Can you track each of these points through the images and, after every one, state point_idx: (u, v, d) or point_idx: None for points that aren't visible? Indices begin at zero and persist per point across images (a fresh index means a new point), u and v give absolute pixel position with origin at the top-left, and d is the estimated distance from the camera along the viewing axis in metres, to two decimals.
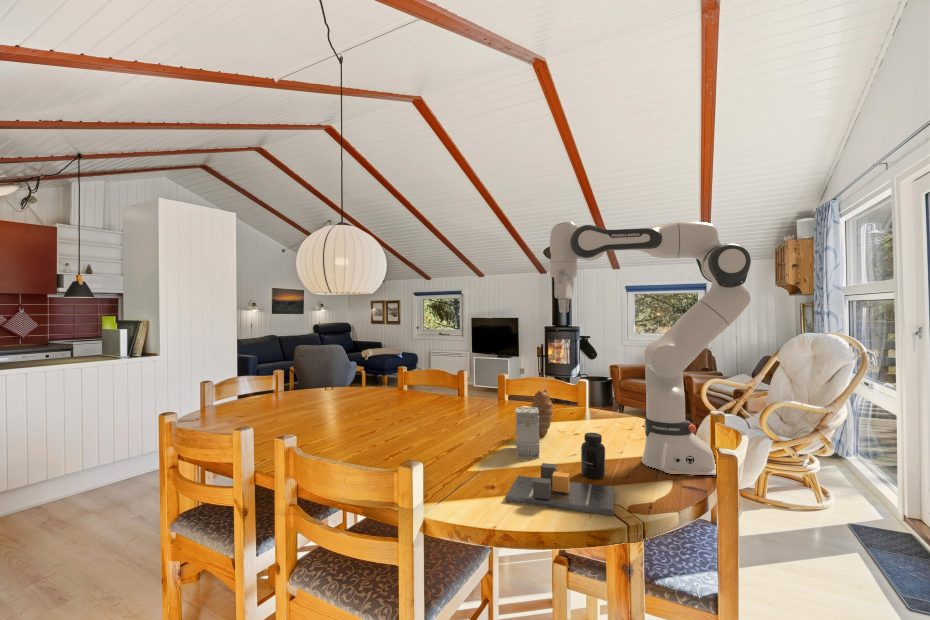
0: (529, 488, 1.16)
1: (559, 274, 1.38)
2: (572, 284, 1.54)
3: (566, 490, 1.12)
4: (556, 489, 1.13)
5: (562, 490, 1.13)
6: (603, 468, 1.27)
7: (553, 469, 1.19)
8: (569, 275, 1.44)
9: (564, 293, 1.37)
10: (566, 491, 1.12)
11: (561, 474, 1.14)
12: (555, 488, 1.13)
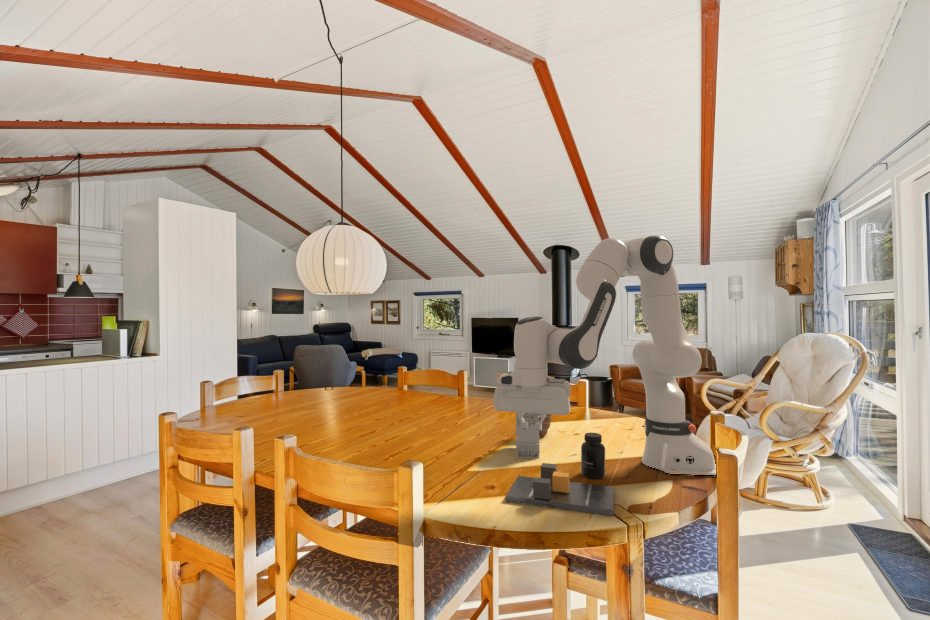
0: (529, 488, 1.16)
1: (570, 385, 1.13)
2: None
3: (566, 490, 1.12)
4: (556, 489, 1.13)
5: (562, 490, 1.13)
6: (603, 468, 1.27)
7: (553, 469, 1.19)
8: None
9: None
10: (566, 491, 1.12)
11: (561, 474, 1.14)
12: (555, 488, 1.13)
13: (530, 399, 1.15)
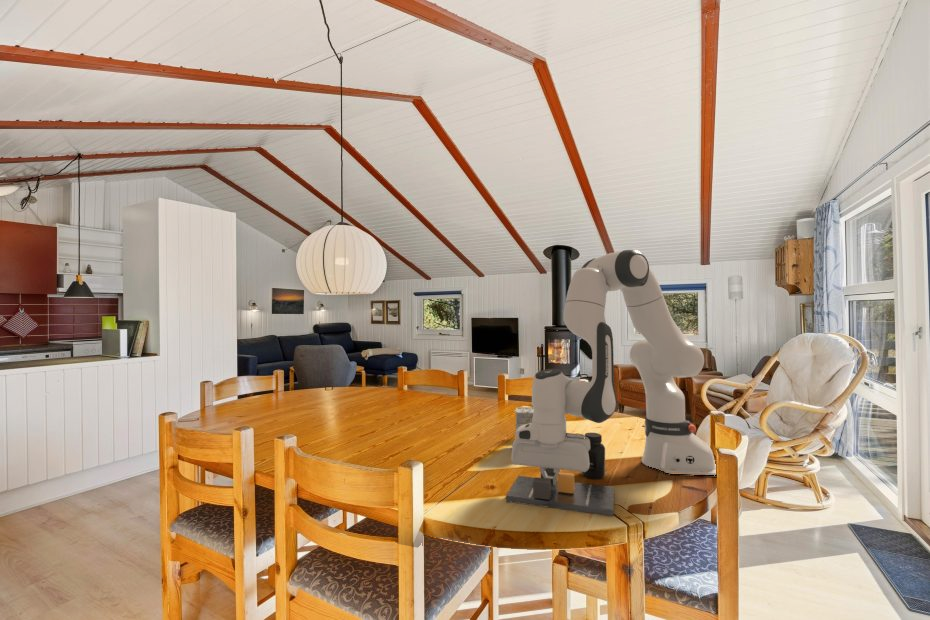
0: (529, 488, 1.16)
1: (589, 441, 1.12)
2: None
3: (571, 491, 1.12)
4: (561, 490, 1.13)
5: (567, 491, 1.12)
6: (603, 468, 1.27)
7: (553, 469, 1.19)
8: None
9: None
10: (571, 492, 1.12)
11: (566, 475, 1.14)
12: (560, 489, 1.13)
13: (549, 454, 1.14)
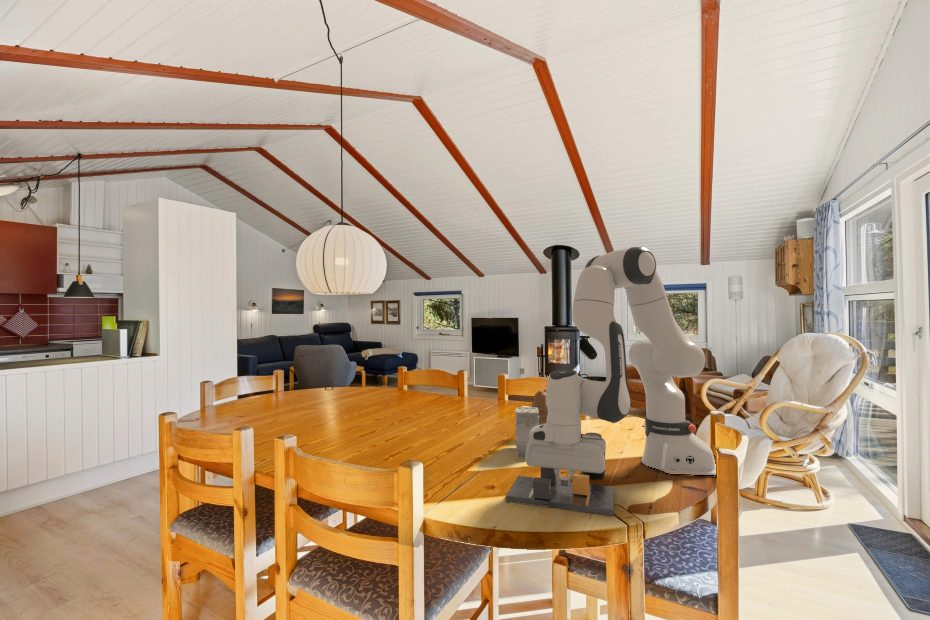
0: (529, 488, 1.16)
1: (605, 442, 1.11)
2: None
3: (586, 493, 1.11)
4: (576, 491, 1.12)
5: (582, 492, 1.11)
6: None
7: (553, 469, 1.19)
8: None
9: None
10: (586, 494, 1.11)
11: (581, 476, 1.13)
12: (575, 490, 1.12)
13: (564, 455, 1.12)
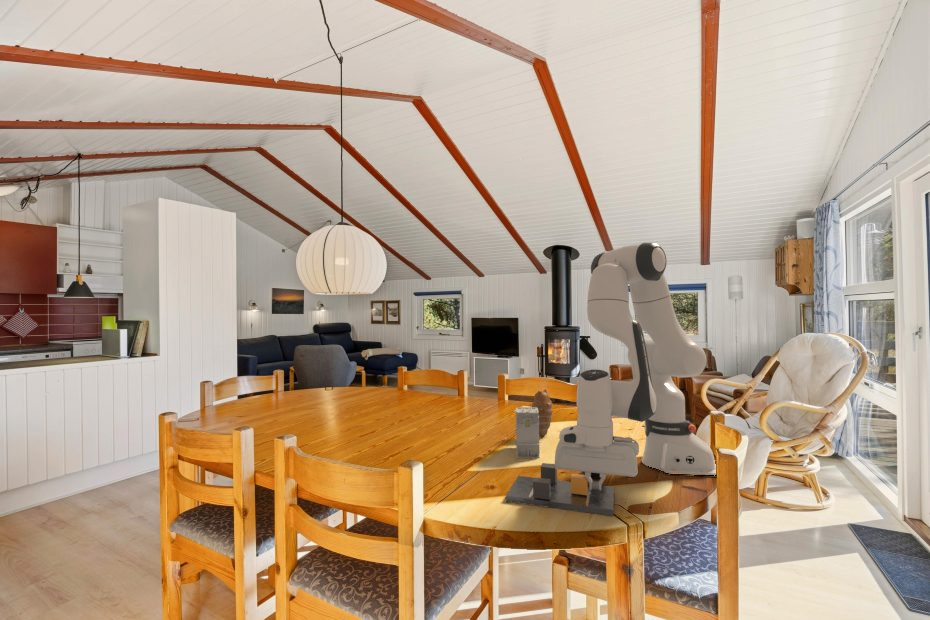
0: (529, 488, 1.16)
1: (638, 445, 1.08)
2: None
3: (585, 492, 1.11)
4: (574, 491, 1.12)
5: (581, 492, 1.11)
6: None
7: (553, 469, 1.19)
8: None
9: None
10: (585, 493, 1.11)
11: (579, 476, 1.13)
12: (573, 490, 1.12)
13: (595, 458, 1.10)
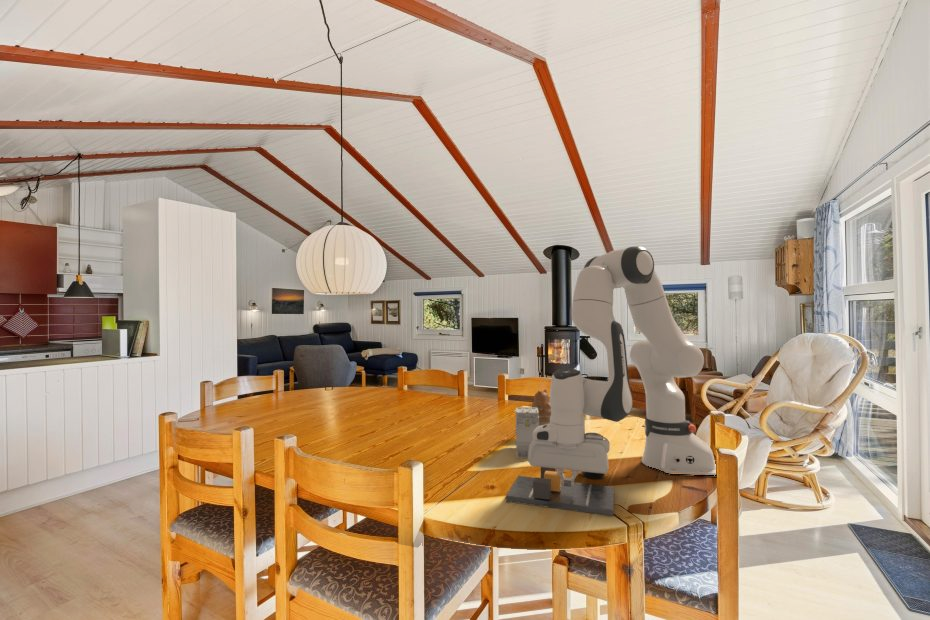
0: (529, 488, 1.16)
1: (608, 442, 1.10)
2: None
3: (557, 489, 1.13)
4: None
5: (553, 489, 1.14)
6: None
7: (553, 469, 1.19)
8: None
9: None
10: (557, 490, 1.13)
11: (552, 473, 1.15)
12: None
13: (567, 455, 1.12)
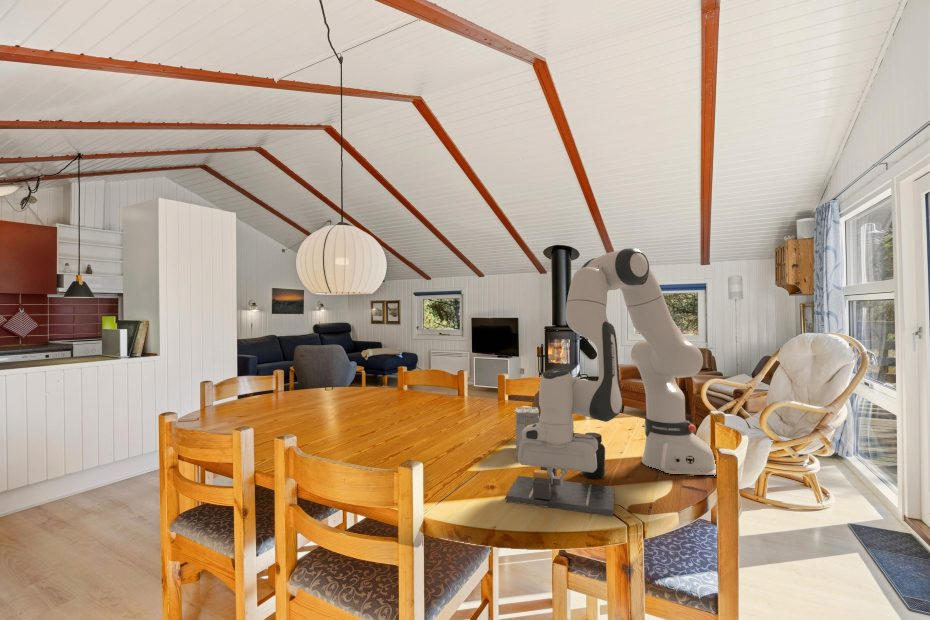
0: (529, 488, 1.16)
1: (597, 441, 1.11)
2: None
3: None
4: None
5: None
6: (603, 468, 1.27)
7: (553, 469, 1.19)
8: None
9: None
10: None
11: (542, 472, 1.16)
12: None
13: (556, 454, 1.13)
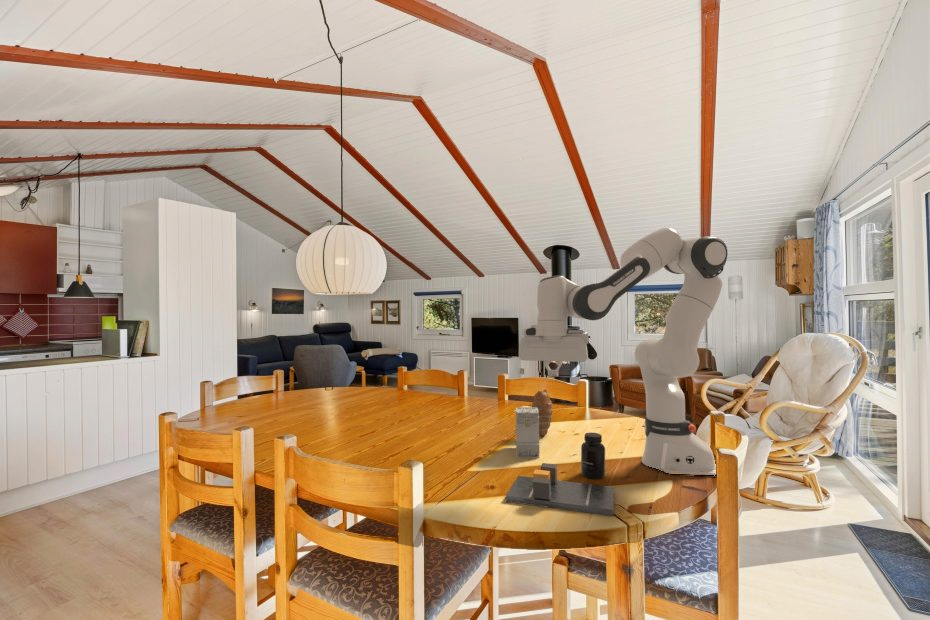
0: (529, 488, 1.16)
1: None
2: None
3: None
4: None
5: None
6: (603, 468, 1.27)
7: (553, 469, 1.19)
8: None
9: None
10: None
11: (542, 472, 1.16)
12: None
13: (552, 348, 1.29)
